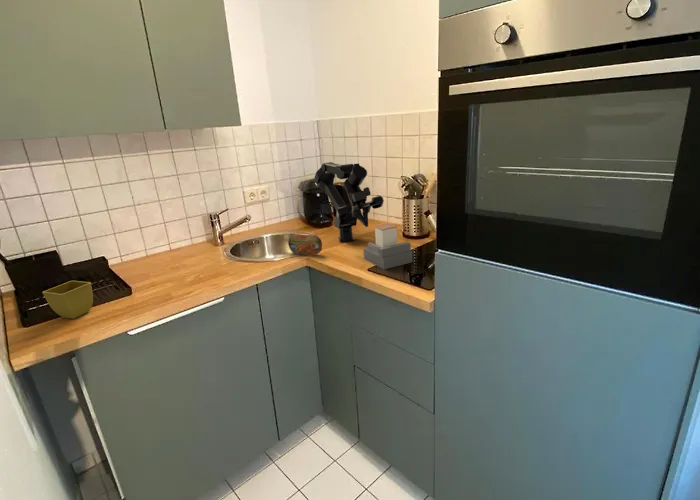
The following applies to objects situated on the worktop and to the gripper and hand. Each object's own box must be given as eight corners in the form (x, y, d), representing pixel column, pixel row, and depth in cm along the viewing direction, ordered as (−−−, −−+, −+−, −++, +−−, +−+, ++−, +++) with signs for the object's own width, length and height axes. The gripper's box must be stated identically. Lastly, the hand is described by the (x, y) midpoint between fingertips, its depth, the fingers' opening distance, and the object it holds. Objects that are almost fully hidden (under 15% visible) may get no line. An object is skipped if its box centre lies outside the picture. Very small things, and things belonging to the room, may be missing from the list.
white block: (376, 248, 138) (374, 226, 136) (389, 245, 141) (388, 223, 138) (383, 252, 134) (382, 229, 131) (397, 249, 137) (396, 226, 134)
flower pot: (50, 319, 110) (40, 291, 107) (80, 306, 117) (71, 279, 114) (71, 323, 106) (61, 294, 104) (100, 309, 114) (91, 282, 111)
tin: (289, 253, 154) (286, 233, 151) (293, 251, 157) (291, 231, 154) (320, 257, 147) (318, 236, 145) (324, 254, 150) (322, 234, 147)
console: (364, 258, 142) (363, 240, 140) (390, 252, 147) (390, 235, 145) (384, 269, 130) (383, 250, 128) (412, 262, 135) (412, 243, 133)
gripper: (332, 188, 142) (345, 225, 137) (378, 175, 145) (392, 211, 140) (331, 201, 152) (344, 236, 148) (374, 189, 155) (388, 222, 151)
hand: (367, 226), depth 146 cm, fingers closed
